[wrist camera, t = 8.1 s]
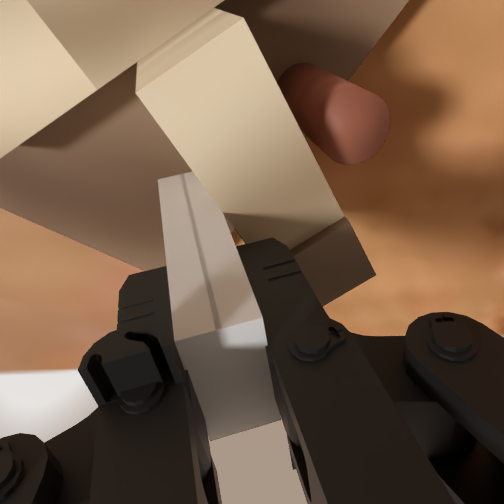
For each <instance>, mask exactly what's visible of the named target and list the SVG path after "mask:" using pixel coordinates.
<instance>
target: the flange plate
mask: <svg viewBox="0 0 504 504" xmlns="http://www.w3.org/2000/svg"><path fill="white" fill-rule="evenodd" d="M223 1H224V0H0V158H2V157H3V156H4V155H6V154H7V153H9V152H10V151H11V150H13V149H14V148H16V147H17V146H19V145H20V144H21V143H23V142H24V141H26V140H27V139H28V138H30V137H31V136H33V135H34V134H36V133H37V132H38V131H40V130H41V129H43V128H44V127H45V126H47V125H48V124H50V123H51V122H53V121H54V120H55V119H57V118H58V117H60V116H61V115H62V114H64V113H65V112H67V111H68V110H70V109H71V108H72V107H74V106H75V105H77V104H78V103H79V102H81V101H82V100H84V99H85V98H87V97H88V96H89V95H91V94H92V93H94V92H95V91H97V90H98V89H99V88H101V87H102V86H104V85H105V84H106V83H108V82H109V81H111V80H112V79H114V78H115V77H116V76H118V75H119V74H121V73H122V72H123V71H125V70H126V69H128V68H129V67H131V66H132V65H133V64H135V63H136V62H137V74H136V91H135V93H136V94H137V96H138V97H139V99H140V100H141V101H142V103H143V104H144V105H145V107H146V108H147V110H148V111H149V112H150V114H151V115H152V116H153V118H154V119H155V120H156V122H157V123H158V125H159V126H160V127H161V129H162V130H163V131H164V133H165V134H166V136H167V137H168V138H169V140H170V141H171V142H172V144H173V145H174V146H175V148H176V149H177V151H178V152H179V153H180V155H181V156H182V157H183V159H184V160H185V162H186V163H187V164H188V166H189V167H190V168H191V170H192V171H193V172H194V174H195V175H196V177H197V178H198V179H199V181H200V182H201V183H202V185H203V186H204V188H205V189H206V190H207V192H208V193H209V194H210V196H211V197H212V198H213V200H214V201H215V203H216V204H217V205H218V207H219V208H220V209H221V211H222V212H223V214H224V215H225V216H226V218H227V219H228V220H229V222H230V223H231V224H232V226H233V227H234V229H235V230H236V231H237V233H238V234H239V235H240V237H241V238H242V239H243V241H244V242H245V244H248V243H252V242H256V241H260V240H264V239H268V238H272V237H273V238H275V239H276V240H278V241H280V242H281V243H283V244H284V245H286V246H288V248H289V250H290V252H291V253H292V255H293V257H294V258H295V261H296V262H297V264H298V265H299V267H300V269H301V271H302V273H303V274H304V276H305V277H306V279H307V281H308V283H309V284H310V286H311V288H312V289H313V291H314V293H315V295H316V296H317V298H318V300H319V302H320V303H321V305H322V307H323V306H324V305H326V304H328V303H329V302H331V301H333V300H334V299H336V298H338V297H340V296H341V295H343V294H345V293H346V292H348V291H350V290H351V289H353V288H355V287H357V286H358V285H360V284H362V283H363V282H365V281H367V280H368V279H370V278H372V277H374V276H375V275H376V274H375V272H374V270H373V268H372V266H371V264H370V262H369V260H368V258H367V256H366V254H365V252H364V250H363V248H362V246H361V244H360V242H359V240H358V238H357V236H356V234H355V232H354V230H353V228H352V226H351V224H350V222H349V221H348V220H347V219H346V217H345V216H344V214H343V212H342V210H341V208H340V206H339V204H338V202H337V201H336V199H335V197H334V195H333V193H332V191H331V189H330V187H329V185H328V183H327V181H326V179H325V177H324V175H323V173H322V171H321V169H320V167H319V165H318V163H317V161H316V159H315V157H314V155H313V153H312V151H311V149H310V147H309V145H308V143H307V141H306V140H305V138H304V136H303V134H302V132H301V130H300V128H299V126H298V124H297V122H296V120H295V118H294V116H293V114H292V112H291V110H290V108H289V106H288V104H287V102H286V100H285V98H284V96H283V94H282V92H281V90H280V88H279V86H278V84H277V82H276V80H275V78H274V77H273V75H272V73H271V71H270V69H269V67H268V65H267V63H266V61H265V59H264V57H263V55H262V53H261V51H260V49H259V47H258V45H257V43H256V41H255V39H254V37H253V35H252V33H251V31H250V29H249V27H248V25H247V23H246V21H245V19H244V18H243V17H240V16H237V15H234V14H231V13H228V12H225V11H222V10H219V9H216V8H214V7H216V6H217V5H218V4H220V3H221V2H223Z"/></svg>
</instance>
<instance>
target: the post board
mask: <svg viewBox="0 0 504 504" xmlns="http://www.w3.org/2000/svg"><path fill="white" fill-rule="evenodd" d="M408 1H409V0H224V1H223V2H221V3H220V4H218V5H217V6H216V7H214V8H216V9H219V10H222V11H225V12H228V13H231V14H234V15H237V16H240V17H243V18H244V19H245V21H246V23H247V25H248V27H249V29H250V31H251V33H252V35H253V37H254V39H255V41H256V43H257V45H258V47H259V49H260V51H261V53H262V55H263V57H264V59H265V61H266V63H267V65H268V67H269V69H270V71H271V73H272V75H273V77H274V78H275V80H276V82H277V84H278V86H279V88H280V90H281V92H282V94H283V96H284V98H285V100H286V102H287V104H288V106H289V108H290V110H291V112H292V114H293V116H294V118H295V120H296V122H297V124H298V126H299V128H300V130H301V132H302V134H303V136H304V138H305V136H307V137H308V138H310V139H311V140H312V141H313V142H314V143H315V144H316V145H317V146H318V147H319V148H320V149H321V150H323V151H324V152H325V153H326V154H327V155H328V156H329V157H330V158H331V159H332V160H334V161H336V162H338V163H340V164H345V165H353V164H358V163H361V162H363V161H365V160H367V159H369V158H370V157H372V156H373V155H374V154H375V153H376V152H377V151H378V150H379V149H380V148H381V146H382V145H383V143H384V142H385V140H386V138H387V135H388V133H389V129H390V113H389V109H388V107H387V105H386V103H385V102H384V100H383V99H382V98H381V97H379V96H378V95H376V94H374V93H372V92H370V91H368V90H366V89H364V88H362V87H359V86H357V85H355V84H353V83H351V82H349V81H348V80H349V78H350V77H351V76H352V75H353V73H354V72H355V71H356V69H357V68H358V67H359V65H360V64H361V63H362V61H363V60H364V59H365V57H366V56H367V55H368V54H369V52H370V51H371V50H372V48H373V47H374V46H375V44H376V43H377V42H378V40H379V39H380V38H381V36H382V35H383V34H384V33H385V31H386V30H387V29H388V27H389V26H390V25H391V23H392V22H393V21H394V19H395V18H396V17H397V15H398V14H399V13H400V11H401V10H402V9H403V8H404V6H405V5H406V4H407V2H408ZM136 74H137V62H136V63H135V64H133V65H132V66H131V67H129V68H128V69H126V70H125V71H123V72H122V73H121V74H119V75H118V76H116V77H115V78H114V79H112V80H111V81H109V82H108V83H106V84H105V85H104V86H102V87H101V88H99V89H98V90H97V91H95V92H94V93H92V94H91V95H89V96H88V97H87V98H85V99H84V100H82V101H81V102H79V103H78V104H77V105H75V106H74V107H72V108H71V109H70V110H68V111H67V112H65V113H64V114H62V115H61V116H60V117H58V118H57V119H55V120H54V121H53V122H51V123H50V124H48V125H47V126H45V127H44V128H43V129H41V130H40V131H38V132H37V133H36V134H34V135H33V136H31V137H30V138H28V139H27V140H26V141H24V142H23V143H21V144H20V145H19V146H17V147H16V148H14V149H13V150H11V151H10V152H9V153H7V154H6V155H4V156H3V157H2V158H0V208H2V209H4V210H7V211H9V212H11V213H13V214H16V215H18V216H20V217H23V218H25V219H27V220H29V221H32V222H34V223H36V224H39V225H41V226H43V227H45V228H48V229H50V230H52V231H55V232H57V233H59V234H61V235H64V236H66V237H68V238H70V239H73V240H75V241H77V242H80V243H82V244H84V245H86V246H89V247H91V248H93V249H96V250H98V251H100V252H102V253H105V254H107V255H109V256H112V257H114V258H116V259H118V260H121V261H123V262H125V263H128V264H130V265H132V266H134V267H137V268H139V269H141V270H144V271H148V270H152V269H156V268H160V267H163V266H167V265H166V255H165V246H164V236H163V226H162V216H161V207H160V197H159V187H158V179H162V178H166V177H171V176H175V175H179V174H184V173H188V172H193V171H192V170H191V168H190V167H189V166H188V164H187V163H186V162H185V160H184V159H183V157H182V156H181V155H180V153H179V152H178V151H177V149H176V148H175V146H174V145H173V144H172V142H171V141H170V140H169V138H168V137H167V136H166V134H165V133H164V131H163V130H162V129H161V127H160V126H159V125H158V123H157V122H156V120H155V119H154V118H153V116H152V115H151V114H150V112H149V111H148V110H147V108H146V107H145V105H144V104H143V103H142V101H141V100H140V99H139V97H138V96H137V94H136V93H135V91H136ZM224 217H225V220H226V222H227V225H228V227H229V230H230V233H231V234H232V232H233V231H234V230H235V229H234V227H233V226H232V224H231V223H230V222H229V220H228V219H227V218H226V216H225V215H224Z"/></svg>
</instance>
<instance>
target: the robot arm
mask: <svg viewBox="0 0 504 504" xmlns="http://www.w3.org/2000/svg"><path fill="white" fill-rule="evenodd" d="M158 187H159V197H160V207H161V216H162V226H163V236H164V246H165V255H166V265H167V266H163V267H160V268H156V269H152V270H148V271H144V272H140V273H136V274H132V275H129V276H128V278H127V279H126V281H125V283H124V284H123V286H122V288H121V289H120V291H119V304H118V308H119V310H118V320H117V321H118V324H117V330H115V331H113V332H110V333H108V334H107V335H106V336H104V337H103V338H101V339H100V340H98V341H97V342H96V343H94V344H93V345H92V347H91V348H90V349H89V350H88V351H87V352H86V354H85V355H84V356H83V358H82V361H81V363H80V366H79V368H78V371H79V373H80V375H81V377H82V378H83V380H84V382H85V384H86V385H87V387H88V389H89V390H90V392H91V394H92V396H93V397H94V399H95V401H96V403H97V404H98V408H97V409H96V410H95V411H94V412H93V413H91V415H89V416H88V417H87V418H85V419H84V420H82V421H81V422H79V423H78V424H76V425H75V426H73V427H71V428H69V429H68V430H66V431H64V432H62V433H61V434H59V435H57V436H55V437H54V438H52V439H50V440H48V441H47V442H45V443H44V442H42V441H41V440H40V439H39V438H38V437H36V436H35V435H30V434H23V433H19V434H15V435H11V436H7V437H3V438H1V439H0V504H222V501H221V495H220V489H219V483H218V477H217V470H216V468H215V465H214V462H213V460H212V457H211V453H210V446H209V441H208V436H209V439H210V441H212V440H216V439H219V438H222V437H225V436H229V435H232V434H235V433H238V432H242V431H246V430H249V429H253V428H256V427H259V426H262V425H266V424H269V423H272V422H276V421H278V420H281V418H282V421H283V424H284V427H285V430H286V432H287V438H288V444H289V449H290V455H291V461H292V467H293V470H294V469H296V470H297V473H298V476H299V479H300V482H301V485H302V488H303V491H304V494H305V497H306V500H307V503H308V504H504V338H503V337H502V336H500V335H499V334H497V333H496V332H494V331H493V330H491V329H490V328H488V327H487V326H485V325H484V324H482V323H480V322H478V321H476V320H474V319H472V318H470V317H468V316H464V315H460V314H455V313H451V312H437V313H430V314H427V315H424V316H421V317H418V318H417V319H416V320H415V321H413V322H412V323H411V324H410V325H409V327H408V329H407V332H406V335H405V336H363V335H359V334H355V333H351V332H349V331H348V330H347V329H346V328H345V327H344V326H343V325H342V324H341V323H339V322H337V321H335V320H332V319H330V318H329V316H328V315H327V314H326V312H325V310H324V308H323V307H322V305H321V303H320V302H319V300H318V298H317V296H316V295H315V293H314V291H313V289H312V288H311V286H310V284H309V283H308V281H307V279H306V277H305V276H304V274H303V273H302V271H301V269H300V267H299V265H298V264H297V262H296V261H295V258H294V257H293V255H292V253H291V252H290V250H289V248H288V246H286V245H284V244H283V243H281V242H280V241H278V240H276V239H275V238H273V237H272V238H268V239H264V240H260V241H256V242H252V243H248V244H244V245H240V246H237V247H236V246H235V243H234V241H233V238H232V235H231V233H230V230H229V227H228V225H227V222H226V220H225V217H224V214H223V212H222V211H221V209H220V208H219V207H218V205H217V204H216V203H215V201H214V200H213V198H212V197H211V196H210V194H209V193H208V192H207V190H206V189H205V188H204V186H203V185H202V183H201V182H200V181H199V179H198V178H197V177H196V175H195V174H194V172H188V173H184V174H179V175H175V176H171V177H166V178H162V179H158ZM280 415H281V416H280Z"/></svg>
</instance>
